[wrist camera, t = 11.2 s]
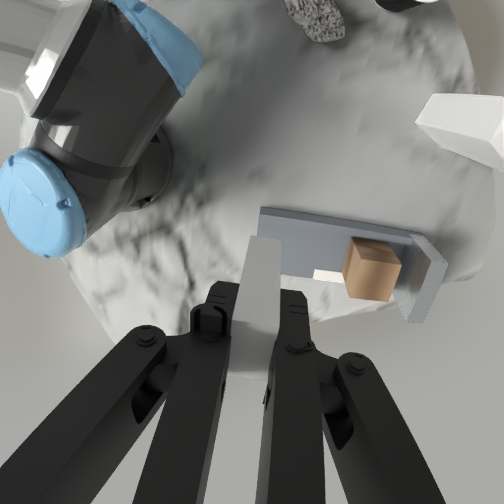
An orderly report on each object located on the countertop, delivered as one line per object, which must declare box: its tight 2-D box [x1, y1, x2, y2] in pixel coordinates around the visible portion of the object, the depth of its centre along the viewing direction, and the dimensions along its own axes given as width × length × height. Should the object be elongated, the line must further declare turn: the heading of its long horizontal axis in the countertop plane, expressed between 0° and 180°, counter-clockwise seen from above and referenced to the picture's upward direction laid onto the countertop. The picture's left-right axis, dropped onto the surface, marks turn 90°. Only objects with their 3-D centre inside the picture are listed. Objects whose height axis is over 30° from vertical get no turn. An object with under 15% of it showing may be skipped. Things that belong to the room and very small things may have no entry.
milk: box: [414, 93, 504, 173], centre depth 27 cm, size 6×6×22 cm
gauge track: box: [257, 207, 423, 283], centre depth 46 cm, size 26×10×3 cm, turn 84°
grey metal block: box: [392, 234, 449, 323], centre depth 42 cm, size 3×10×9 cm, turn 174°
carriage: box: [342, 237, 402, 302], centre depth 43 cm, size 7×7×7 cm
